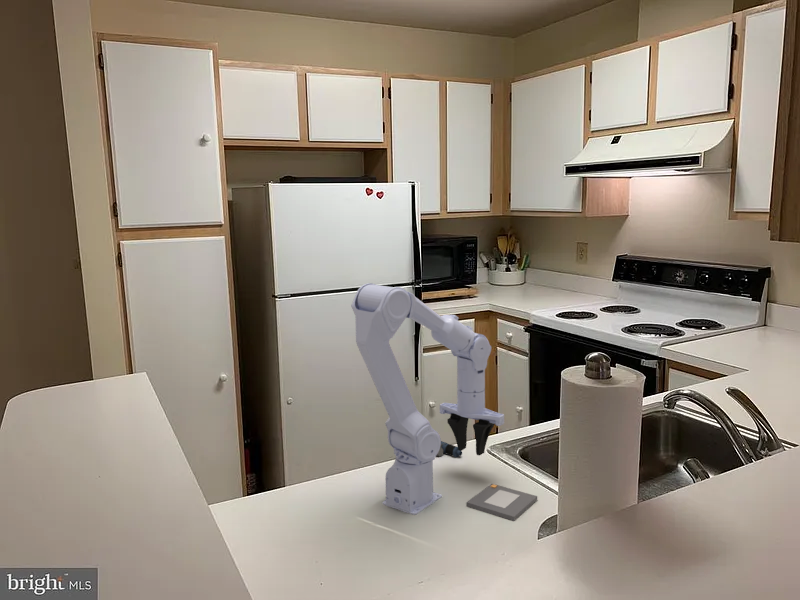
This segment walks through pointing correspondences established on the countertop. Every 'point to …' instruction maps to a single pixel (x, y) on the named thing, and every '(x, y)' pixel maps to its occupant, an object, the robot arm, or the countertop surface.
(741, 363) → the countertop surface
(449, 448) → the vaping device
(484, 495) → the computer chip
